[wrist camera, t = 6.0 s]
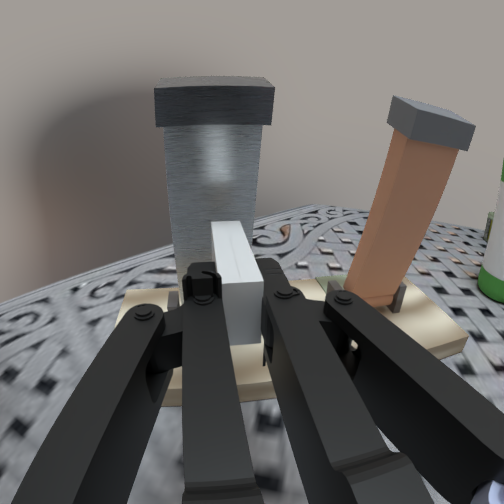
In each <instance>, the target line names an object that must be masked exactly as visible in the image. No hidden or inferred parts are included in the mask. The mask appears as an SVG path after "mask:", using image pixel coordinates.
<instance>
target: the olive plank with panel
mask: <svg viewBox="0 0 504 504" xmlns="http://www.w3.org/2000/svg"><path fill="white" fill-rule="evenodd" d="M494 214H495V212H489V214H488V219H487V224H486V229H485V234H484V240H485V241H487V242H488V240H489V236H490V232H491V228H492V223H493V219H494Z"/></svg>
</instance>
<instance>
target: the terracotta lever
mask: <svg viewBox="0 0 504 504" xmlns="http://www.w3.org/2000/svg"><path fill="white" fill-rule="evenodd" d="M387 123H388V124H389V125H391V126H392V127H393V128H394V132H393V136H392V140H391V143H390V147H389V151H388V154H387V158H386V161H385V165H384V168H383V172H382V175H381V178H380V182H379V185H378V188H377V191H376V195H375V198H374V201H373V204H372V207H371V210H370V213H369V216H368V219H367V222H366V225H365V228H364V231H363V234H362V237H361V240H360V242H359V245H358V248H357V251H356V253H355V256H354V259H353V262H352V264H351V267H350V270H349V272H348V275H347V277H346V280H345V283H344V285H343V288H344V290H347V291H349V292H352V293H354V294H356V295H358V296H359V297H360V298H362V299H363V300H364V301H366V302H367V303H368V304H369V305H371V306H372V307H378V306H384V305H390V304H391V303H392V301H393V294H395V293H396V291H397V289H398V287H399V285H400V283H401V282H402V280H403V278H404V276H405V274H406V272H407V270H408V268H409V266H410V264H411V262H412V260H413V258H414V256H415V254H416V252H417V250H418V248H419V246H420V244H421V242H422V240H423V238H424V235H425V233H426V231H427V229H428V227H429V224H430V222H431V220H432V218H433V215H434V213H435V211H436V208H437V206H438V204H439V201H440V199H441V196H442V194H443V191H444V189H445V186H446V184H447V181H448V179H449V176H450V173H451V171H452V168H453V165H454V162H455V159H456V156H457V154H458V151H459V149H460V150H464V151H468V149H469V146H470V142H471V140H472V137H473V134H474V130H475V127H476V126H475V125H474V124H472V123H470V122H469V121H467V120H466V119H464V118H462V117H460V116H459V115H457V114H455V113H454V112H452V111H449V110H446V109H443V108H440V107H436V106H433V105H429V104H426V103H422V102H418V101H414V100H411V99H406V98H402V97H398V96H394V95H393V98H392V102H391V106H390V111H389V115H388V119H387Z"/></svg>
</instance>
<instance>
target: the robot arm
mask: <svg viewBox="0 0 504 504" xmlns="http://www.w3.org/2000/svg"><path fill="white" fill-rule="evenodd" d="M211 236H212V262H194V263H191V265H190V266H189V267H188V268H187V274H185V275H184V276H183V278H182V287H183V297H184V303H183V304H182V305H181V306H180V307H178V308H176V309H174V310H171V311H167V312H163V310H162V308H161V307H159V306H158V305H155V304H151V303H149V304H146V303H144V304H139V305H136V306H134V307H132V308H130V309H129V310H128V311H127V312H126V313H125V315H124V316H123V317H122V319H121V320H120V322H119V323H118V325H117V326H116V327H115V329H114V330H113V332H112V333H111V335H110V336H109V338H108V339H107V341H106V342H105V344H104V345H103V347H102V348H101V350H100V351H99V353H98V354H97V356H96V357H95V359H94V360H93V362H92V363H91V365H90V366H89V368H88V369H87V371H86V372H85V374H84V376H83V377H82V379H81V380H80V382H79V383H78V385H77V387H76V388H75V390H74V391H73V393H72V395H71V396H70V398H69V399H68V401H67V403H66V404H65V406H64V408H63V409H62V411H61V413H60V414H59V416H58V418H57V419H56V421H55V423H54V424H53V426H52V428H51V430H50V431H49V433H48V435H47V437H46V438H45V440H44V442H43V444H42V445H41V447H40V449H39V451H38V452H37V454H36V456H35V458H34V460H33V462H32V463H31V465H30V467H29V469H28V471H27V473H26V475H25V477H24V479H23V481H22V482H21V484H20V486H19V488H18V490H17V492H16V494H15V496H14V498H13V500H12V502H11V504H127V501H128V498H129V495H130V492H131V489H132V486H133V483H134V481H135V478H136V475H137V472H138V469H139V466H140V463H141V460H142V458H143V455H144V452H145V449H146V446H147V443H148V441H149V438H150V435H151V432H152V430H153V427H154V424H155V421H156V419H157V416H158V413H159V410H160V408H161V405H162V402H163V400H164V397H165V394H166V391H167V389H168V386H169V383H170V381H171V378H172V376H173V370H174V368H178V367H181V366H182V429H183V458H184V478H185V491H184V493H183V496H182V504H264V501H263V498H262V494H261V491H260V489H259V487H258V486H257V484H256V480H255V476H254V471H253V466H252V462H251V457H250V452H249V447H248V442H247V437H246V432H245V427H244V421H243V416H242V411H241V406H240V400H239V395H238V389H237V384H236V378H235V373H234V367H233V361H232V355H231V349H230V346H234V345H246V344H258V343H261V334H262V336H263V339H264V348H263V366H266V362H267V366H268V369H269V373H270V376H271V380H272V383H273V387H274V390H275V393H276V397H277V400H278V404H279V407H280V410H281V414H282V417H283V421H284V424H285V427H286V431H287V434H288V437H289V441H290V444H291V447H292V451H293V454H294V457H295V460H296V464H297V467H298V470H299V474H300V477H301V480H302V483H303V487H304V490H305V493H306V496H307V499H308V503H309V504H434V502H433V500H432V498H431V496H430V494H429V492H428V490H427V488H426V487H425V485H424V483H423V481H422V479H421V477H420V475H419V474H418V472H419V473H420V474H421V475H422V476H423V477H424V478H425V479H426V480H427V481H428V482H429V483H430V485H431V486H432V487H433V488H434V489H435V490H436V491H437V492H438V493H439V494H440V495H441V496H442V497H444V498H445V499H446V500H447V501H448V502H450V503H451V504H504V414H503V413H502V412H501V411H500V410H499V409H498V408H496V407H495V406H494V405H493V404H492V403H491V402H489V401H488V400H487V399H486V398H485V397H484V396H482V395H481V394H480V393H479V392H478V391H476V390H475V389H474V388H473V387H472V386H470V385H469V384H468V383H467V382H466V381H464V380H463V379H462V378H461V377H460V376H458V375H457V374H456V373H455V372H453V371H452V370H451V369H450V368H449V367H447V366H446V365H445V364H444V363H442V362H441V361H440V360H439V359H438V358H436V357H435V356H434V355H433V354H431V353H430V352H429V351H428V350H426V349H425V348H424V347H423V346H421V345H420V344H419V343H418V342H416V341H415V340H414V339H413V338H411V337H410V336H409V335H408V334H406V333H405V332H404V331H403V330H401V329H400V328H399V327H398V326H396V325H395V324H394V323H392V322H391V321H390V320H389V319H387V318H386V317H385V316H384V315H382V314H381V313H380V312H378V311H377V310H376V309H375V308H373V307H372V306H371V305H369V304H368V303H367V302H366V301H364V300H363V299H362V298H360V297H359V296H358V295H356V294H354V293H352V292H349V291H347V290H334V291H331V292H328V293H327V295H326V296H325V301H318V300H310V299H306V298H305V296H304V294H303V293H302V292H301V290H300V289H298V288H296V287H293V286H291V285H290V283H289V281H288V280H287V278H286V276H285V274H284V272H283V270H282V269H281V267H280V265H279V263H278V262H277V261H275V260H274V259H272V258H258V259H255V258H254V255H253V253H252V250H251V248H250V245H249V243H248V240H247V238H246V235H245V233H244V230H243V228H242V225H241V223H240V221H217V222H211ZM352 340H353V341H354V342H355V343H356V344H357V345H358V346H357V349H355V348H354V347H353V346H352V345H351V344H352ZM377 427H378V428H379V429H380V430H381V431H382V432H383V433H384V435H385V436H386V437H387V438H388V439H389V440H390V441H391V442H392V443H393V444H394V446H395V447H396V448H397V449H398V450H399V451H400V452H392V451H390V450H389V448H388V447H387V445H386V443H385V441H384V440H383V438H382V436H381V434H380V432H379V430H378V428H377ZM417 471H418V472H417Z"/></svg>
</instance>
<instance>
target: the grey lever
mask: <svg viewBox="0 0 504 504" xmlns="http://www.w3.org/2000/svg"><path fill="white" fill-rule="evenodd" d="M274 92H275V87H274V86H273V85H272V84H271V83H270V82H269V81H267V80H266V79H265V78H264V77H241V76H201V77H175V78H161V79H160V81H159V82H158V83H157V85H156V86H155V88H154V96H155V97H154V99H155V120H156V127H163V129H164V146H165V161H166V175H167V187H168V199H169V209H170V218H171V229H172V237H173V246H174V254H175V262H176V270H177V277H178V284H179V291H180V298H181V304H183V303H184V297H183V287H182V278H183V276H184V275H185V274H187V268H188V267H189V266H190V265H191V263H194V262H212V236H211V222H217V221H240V223H241V225H242V228H243V230H244V233H245V235H246V238H247V240H248V243H249V245H250V248H251V247H252V236H253V225H254V214H255V203H256V202H255V201H256V192H257V181H258V169H259V158H260V148H261V137H262V126H263V125H271V122H272V121H271V120H272V112H273V102H274Z"/></svg>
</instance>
